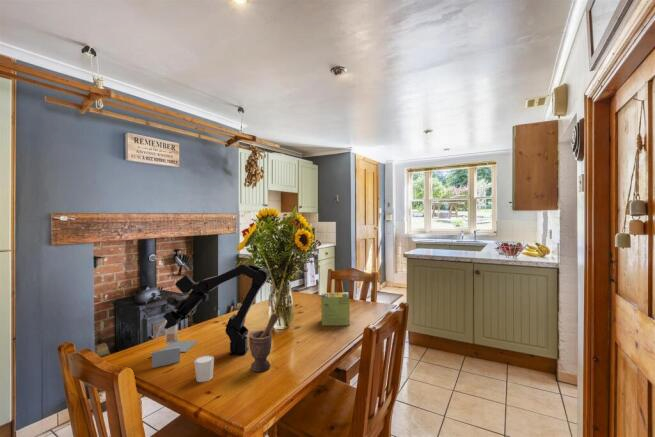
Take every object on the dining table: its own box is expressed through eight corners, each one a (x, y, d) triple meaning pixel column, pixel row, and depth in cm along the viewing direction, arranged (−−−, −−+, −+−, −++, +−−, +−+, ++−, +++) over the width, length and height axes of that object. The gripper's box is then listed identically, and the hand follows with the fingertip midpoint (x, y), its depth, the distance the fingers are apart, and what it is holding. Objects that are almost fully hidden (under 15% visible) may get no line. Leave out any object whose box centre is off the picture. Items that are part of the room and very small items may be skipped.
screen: (179, 360, 130) (179, 346, 130) (179, 362, 128) (179, 347, 128) (152, 366, 125) (151, 351, 125) (152, 368, 124) (151, 352, 124)
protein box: (350, 325, 168) (349, 296, 168) (321, 325, 168) (321, 297, 168) (349, 319, 178) (348, 292, 178) (322, 319, 179) (321, 292, 179)
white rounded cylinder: (178, 338, 141) (177, 312, 141) (176, 342, 137) (175, 315, 137) (166, 340, 140) (166, 313, 140) (164, 344, 135) (164, 316, 135)
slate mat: (197, 341, 150) (197, 340, 150) (185, 352, 138) (185, 351, 138) (173, 341, 150) (173, 341, 150) (159, 352, 138) (159, 351, 138)
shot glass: (193, 384, 111) (192, 364, 111) (195, 375, 117) (195, 356, 117) (213, 381, 113) (213, 361, 113) (215, 372, 119) (214, 354, 119)
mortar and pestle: (266, 358, 131) (265, 310, 131) (282, 363, 126) (281, 313, 126) (245, 369, 121) (244, 318, 121) (261, 375, 116) (259, 321, 116)
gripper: (189, 284, 147) (167, 307, 148) (167, 293, 129) (142, 320, 129) (206, 300, 147) (183, 324, 148) (186, 312, 129) (161, 339, 129)
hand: (168, 326), depth 138 cm, fingers closed on white rounded cylinder, 5 cm apart
